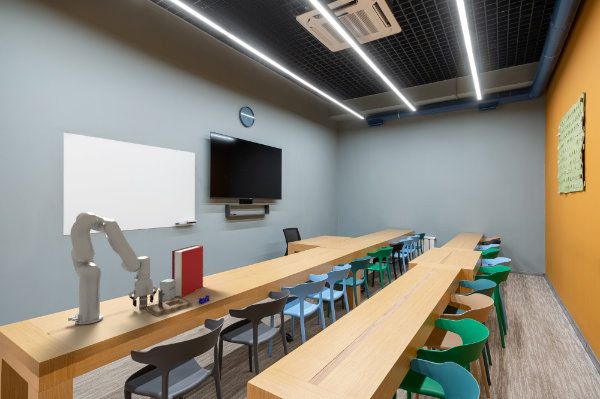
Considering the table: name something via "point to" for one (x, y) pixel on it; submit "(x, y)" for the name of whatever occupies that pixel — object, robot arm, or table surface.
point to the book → (187, 269)
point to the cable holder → (204, 299)
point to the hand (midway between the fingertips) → (143, 304)
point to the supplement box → (168, 289)
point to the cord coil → (143, 302)
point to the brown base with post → (167, 305)
